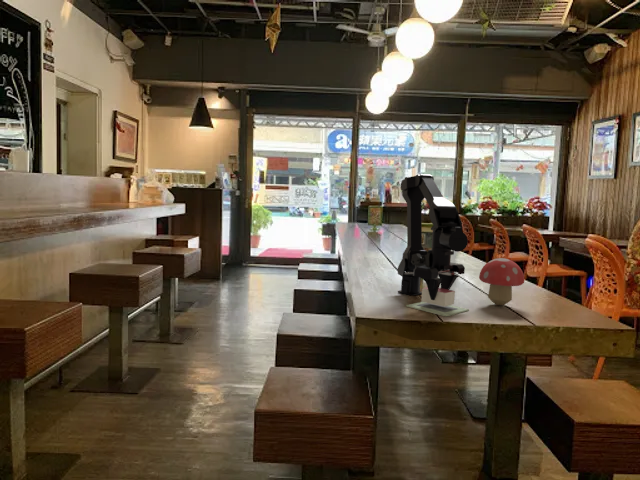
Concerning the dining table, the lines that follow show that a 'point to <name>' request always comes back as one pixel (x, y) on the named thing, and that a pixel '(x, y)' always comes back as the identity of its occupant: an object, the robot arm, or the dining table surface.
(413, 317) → the dining table surface
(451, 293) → the card box
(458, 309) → the mat
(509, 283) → the decorative mushroom
